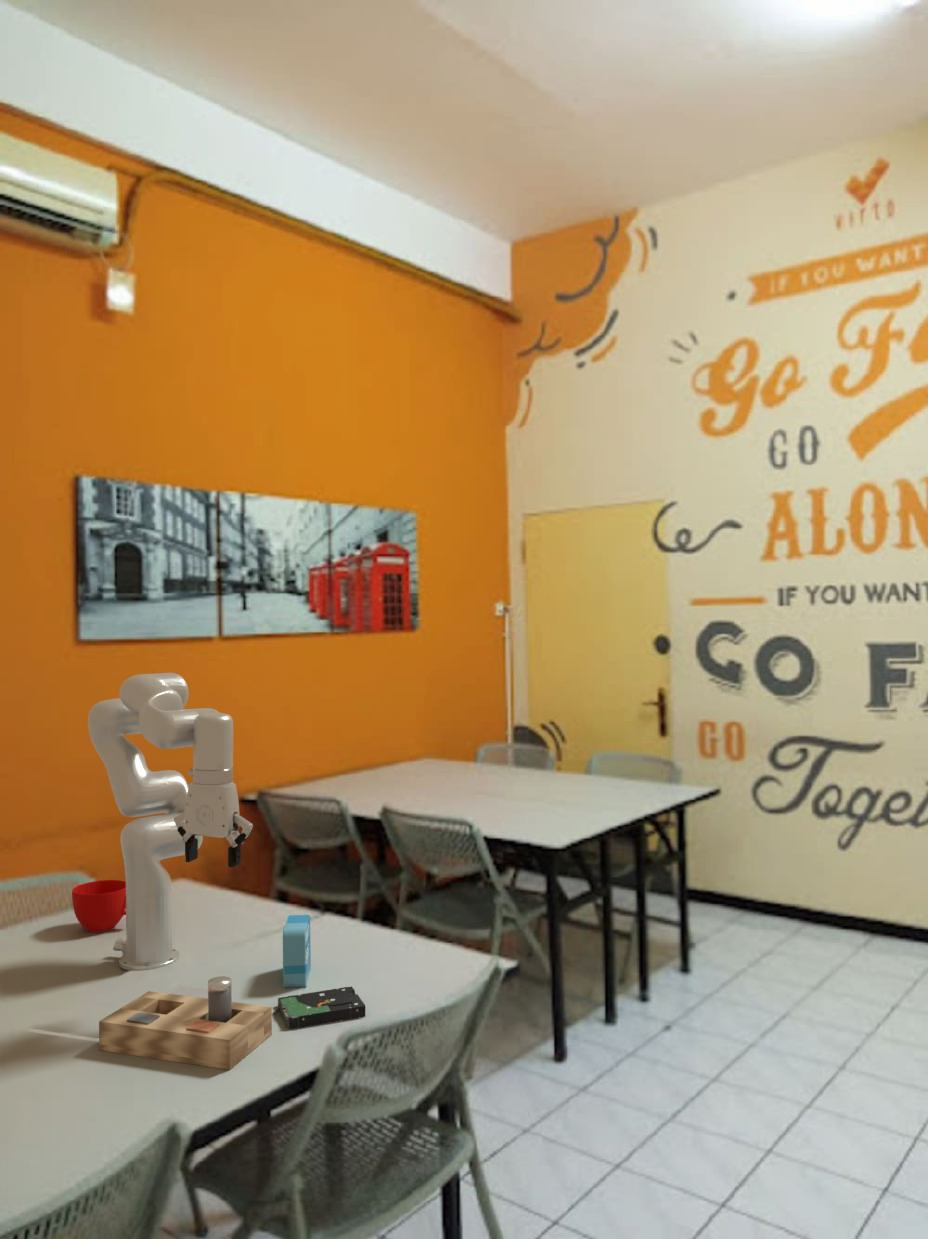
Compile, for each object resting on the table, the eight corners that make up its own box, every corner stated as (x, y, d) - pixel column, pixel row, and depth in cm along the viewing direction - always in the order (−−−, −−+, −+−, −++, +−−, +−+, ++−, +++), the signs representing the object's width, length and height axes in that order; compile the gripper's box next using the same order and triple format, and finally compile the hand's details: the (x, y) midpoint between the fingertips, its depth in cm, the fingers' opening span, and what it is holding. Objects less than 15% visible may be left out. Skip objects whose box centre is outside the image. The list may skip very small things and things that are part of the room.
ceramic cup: (134, 936, 226) (133, 894, 226) (63, 937, 227) (62, 895, 227) (152, 919, 239) (152, 879, 239) (85, 919, 240) (84, 880, 240)
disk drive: (351, 999, 189) (276, 1011, 184) (351, 985, 189) (276, 996, 184) (366, 1019, 180) (288, 1032, 174) (366, 1005, 180) (288, 1017, 174)
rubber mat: (148, 1007, 185) (148, 1004, 185) (179, 988, 194) (179, 985, 194) (193, 1013, 182) (193, 1010, 182) (222, 993, 191) (222, 990, 191)
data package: (305, 990, 193) (305, 930, 193) (283, 991, 192) (282, 931, 192) (310, 968, 205) (310, 912, 205) (289, 969, 204) (288, 913, 204)
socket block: (99, 1049, 167) (98, 1019, 167) (149, 1017, 180) (148, 989, 180) (229, 1070, 159) (229, 1038, 159) (271, 1034, 172) (271, 1005, 172)
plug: (204, 1040, 168) (203, 983, 168) (216, 1030, 172) (215, 975, 172) (224, 1043, 167) (223, 986, 167) (236, 1033, 171) (235, 977, 171)
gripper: (164, 776, 187) (163, 863, 187) (241, 783, 181) (240, 873, 182) (187, 770, 194) (186, 853, 194) (261, 776, 188) (261, 862, 189)
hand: (212, 863), depth 188 cm, fingers open, 9 cm apart
